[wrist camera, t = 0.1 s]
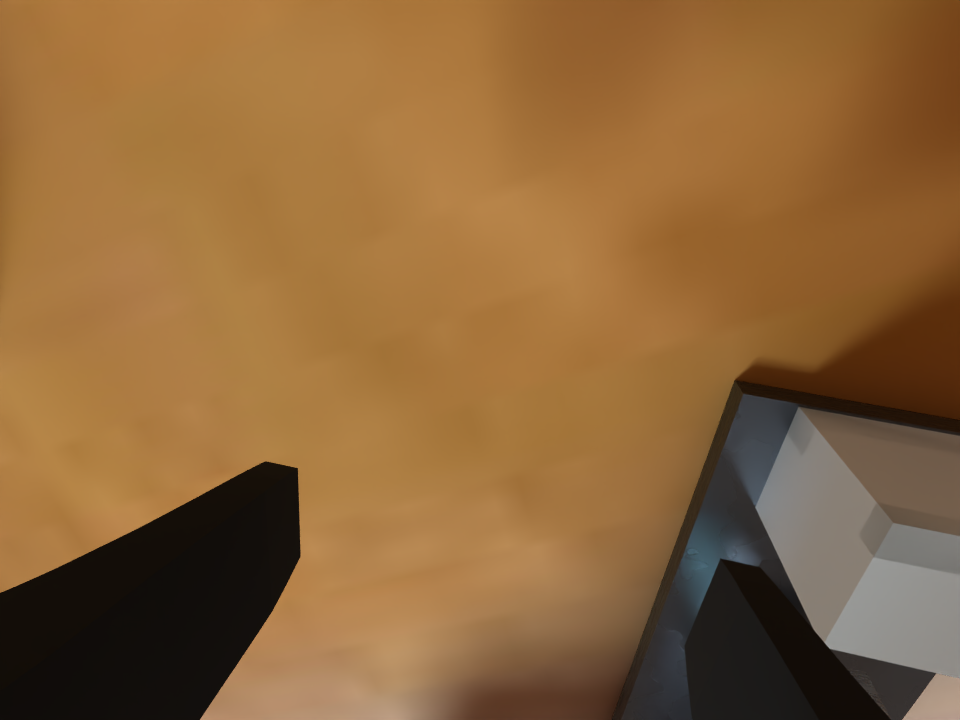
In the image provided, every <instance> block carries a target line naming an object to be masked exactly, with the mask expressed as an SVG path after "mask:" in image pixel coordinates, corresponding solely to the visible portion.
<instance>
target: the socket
mask: <svg viewBox="0 0 960 720" xmlns="http://www.w3.org/2000/svg"><path fill="white" fill-rule="evenodd" d="M755 508H756V510H757V512H758V514H759V516H760V518H761V520H762V522H763V525H764V527H765V529H766V531H767V533H768V535H769V537H770V539H771V541H772V543H773V546H774V548H775V550H776V552H777V554H778V556H779V558H780V560H781V562H782V564H783V567H784V569H785V571H786V573H787V575H788V577H789V579H790V581H791V583H792V585H793V588H794V590H795V592H796V594H797V596H798V598H799V600H800V602H801V604H802V606H803V609H804V611H805V613H806V615H807V617H808V619H809V621H810V623H811V625H812V627H813V629H814V631H815V632H816V633H817V634H818V636H819V637H820V638H821V639H822V640H823V641H824V643H825V644H826V645H827V646H828V647H829V649H833V650H837V651H842V652H846V653H850V654H855V655H859V656H864V657H868V658H872V659H877V660H881V661H885V662H890V663H894V664H899V665H903V666H907V667H912V668H916V669H920V670H925V671H929V672H933V673H938V674H942V675H947V676H951V677H955V678H960V436H957V435H952V434H946V433H941V432H935V431H930V430H924V429H919V428H913V427H908V426H902V425H897V424H891V423H886V422H880V421H875V420H869V419H864V418H858V417H853V416H847V415H841V414H836V413H830V412H825V411H819V410H814V409H808V408H803V407H798V409H797V412H796V414H795V416H794V419H793V421H792V423H791V426H790V428H789V430H788V433H787V435H786V437H785V440H784V442H783V444H782V447H781V449H780V451H779V454H778V456H777V458H776V461H775V463H774V465H773V467H772V470H771V472H770V474H769V477H768V479H767V481H766V484H765V486H764V488H763V491H762V493H761V495H760V498H759V500H758V502H757V505H756V507H755Z"/></svg>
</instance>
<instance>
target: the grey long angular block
mask: <svg viewBox="0 0 960 720" xmlns="http://www.w3.org/2000/svg"><path fill="white" fill-rule="evenodd" d="M798 407H803V408H808V409H814V410H819V411H825V412H830V413H836V414H841V415H847V416H853V417H858V418H864V419H869V420H875V421H880V422H886V423H891V424H897V425H902V426H908V427H913V428H919V429H924V430H930V431H935V432H941V433H946V434H952V435H957V436H960V420H955V419H949V418H943V417H938V416H932V415H927V414H921V413H915V412H910V411H904V410H898V409H893V408H887V407H882V406H876V405H870V404H865V403H859V402H854V401H848V400H842V399H837V398H831V397H826V396H820V395H814V394H809V393H803V392H798V391H792V390H786V389H781V388H775V387H769V386H764V385H758V384H753V383H747V382H741V381H736V380H735V381H734V384H733V387H732V389H731V392H730V395H729V398H728V401H727V403H726V406H725V409H724V412H723V414H722V417H721V420H720V423H719V425H718V428H717V431H716V434H715V436H714V439H713V442H712V445H711V447H710V450H709V453H708V456H707V458H706V461H705V464H704V467H703V469H702V472H701V475H700V478H699V481H698V483H697V486H696V489H695V492H694V494H693V497H692V500H691V503H690V505H689V508H688V511H687V514H686V516H685V519H684V522H683V525H682V527H681V530H680V533H679V536H678V538H677V541H676V544H675V547H674V549H673V552H672V555H671V558H670V561H669V563H668V566H667V569H666V572H665V574H664V577H663V580H662V583H661V585H660V588H659V591H658V594H657V596H656V599H655V602H654V605H653V607H652V610H651V613H650V616H649V618H648V621H647V624H646V627H645V630H644V632H643V635H642V638H641V641H640V643H639V646H638V649H637V652H636V654H635V657H634V660H633V663H632V665H631V668H630V671H629V674H628V676H627V679H626V682H625V685H624V687H623V690H622V693H621V696H620V698H619V701H618V704H617V707H616V710H615V712H614V715H613V718H612V720H692V715H691V707H690V698H689V689H688V680H687V669H686V658H685V647H684V646H685V643H686V641H687V638H688V636H689V633H690V631H691V629H692V626H693V624H694V621H695V619H696V616H697V614H698V612H699V609H700V607H701V604H702V602H703V599H704V597H705V594H706V592H707V590H708V587H709V585H710V582H711V580H712V577H713V575H714V573H715V570H716V568H717V565H718V563H719V560H720V558H721V559H725V560H730V561H735V562H739V563H744V564H749V565H753V566H758V567H760V568H761V569H762V570H763V571H764V572H765V573H766V574H767V575H768V576H769V578H770V579H771V580H772V581H773V582H774V583H775V584H776V586H777V587H778V588H779V589H780V590H781V591H782V593H783V594H784V595H785V596H786V597H787V599H788V600H789V601H790V602H791V603H792V605H793V606H794V607H795V608H796V609H797V610H798V612H799V613H800V614H801V615H802V616H803V618H804V619H805V620H806V621H807V622H808V624H809V625H810V626H811V627H812V625H811V623H810V621H809V619H808V617H807V615H806V613H805V611H804V609H803V606H802V604H801V602H800V600H799V598H798V596H797V594H796V592H795V590H794V588H793V585H792V583H791V581H790V579H789V577H788V575H787V573H786V571H785V569H784V567H783V564H782V562H781V560H780V558H779V556H778V554H777V552H776V550H775V548H774V546H773V543H772V541H771V539H770V537H769V535H768V533H767V531H766V529H765V527H764V525H763V522H762V520H761V518H760V516H759V514H758V512H757V510H756V508H755V507H756V505H757V502H758V500H759V498H760V495H761V493H762V491H763V488H764V486H765V484H766V481H767V479H768V477H769V474H770V472H771V470H772V467H773V465H774V463H775V461H776V458H777V456H778V454H779V451H780V449H781V447H782V444H783V442H784V440H785V437H786V435H787V433H788V430H789V428H790V426H791V423H792V421H793V419H794V416H795V414H796V412H797V409H798ZM812 628H813V627H812ZM813 630H814V629H813ZM830 650H831V651H832V652H833V653H834V654H835V656H836V657H837V658H838V659H839V660H840V662H841V663H842V664H843V665H844V666H845V667H846V668H850V669H854V670H859V671H863V672H866V673H867V675H868V677H869V679H870V681H871V683H872V684H873V686H874V688H875V690H876V692H877V694H878V696H879V697H880V699H881V701H882V703H883V705H884V707H885V709H886V710H887V712H888V714H889V716H890V718H891V720H902V719H903V718H904V716H905V715H906V714H907V712H908V711H909V710H910V708H911V707H912V706H913V704H914V703H915V701H916V700H917V699H918V697H919V696H920V695H921V693H922V692H923V691H924V689H925V688H926V686H927V685H928V684H929V682H930V681H931V680H932V678H933V677H934V676H935V674H936V673H933V672H929V671H925V670H920V669H916V668H912V667H907V666H903V665H899V664H894V663H890V662H885V661H881V660H877V659H872V658H868V657H864V656H859V655H855V654H850V653H846V652H842V651H837V650H833V649H830Z"/></svg>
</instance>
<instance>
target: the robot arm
mask: <svg viewBox="0 0 960 720" xmlns="http://www.w3.org/2000/svg"><path fill="white" fill-rule="evenodd" d="M299 558H300V525H299V493H298V468H294V467H290V466H285V465H280V464H275V463H271V462H266V461H265V462H263V463H261V464H259V465H257V466H255V467H253V468H251V469H249V470H247V471H245V472H243V473H241V474H239V475H238V476H236V477H234V478H232V479H230V480H228V481H226V482H225V483H223V484H221V485H219V486H217V487H215V488H213V489H212V490H210V491H208V492H206V493H204V494H202V495H201V496H199V497H197V498H195V499H193V500H191V501H189V502H187V503H186V504H184V505H182V506H180V507H178V508H176V509H174V510H172V511H170V512H169V513H167V514H165V515H163V516H161V517H159V518H157V519H155V520H153V521H152V522H150V523H148V524H146V525H144V526H142V527H140V528H138V529H136V530H134V531H132V532H130V533H128V534H126V535H124V536H122V537H120V538H118V539H116V540H114V541H112V542H110V543H108V544H105V545H103V546H101V547H99V548H97V549H95V550H93V551H91V552H89V553H87V554H85V555H83V556H81V557H79V558H77V559H75V560H73V561H71V562H68V563H66V564H64V565H62V566H60V567H58V568H56V569H54V570H52V571H49V572H47V573H45V574H43V575H41V576H38V577H36V578H34V579H32V580H29V581H27V582H25V583H23V584H20V585H18V586H16V587H13V588H11V589H9V590H6V591H4V592H2V593H0V720H200V718H201V717H202V716H203V714H204V713H205V711H206V710H207V708H208V707H209V705H210V704H211V702H212V701H213V699H214V698H215V696H216V695H217V693H218V692H219V690H220V689H221V687H222V686H223V684H224V683H225V681H226V680H227V678H228V677H229V675H230V674H231V673H232V671H233V670H234V668H235V667H236V665H237V664H238V662H239V661H240V659H241V658H242V656H243V655H244V653H245V652H246V650H247V649H248V647H249V646H250V644H251V643H252V641H253V640H254V638H255V637H256V635H257V634H258V632H259V631H260V629H261V628H262V626H263V625H264V623H265V622H266V620H267V618H268V617H269V615H270V614H271V612H272V611H273V609H274V607H275V605H276V603H277V601H278V599H279V598H280V596H281V594H282V592H283V590H284V588H285V586H286V584H287V582H288V580H289V578H290V576H291V574H292V572H293V570H294V568H295V566H296V564H297V562H298V560H299ZM684 647H685V658H686V669H687V680H688V689H689V698H690V707H691V715H692V720H891V719H890V718H889V717H888V716H887V714H886V713H885V712H884V711H883V710H882V709H881V708H880V707H879V705H878V704H877V703H876V702H875V701H874V700H873V699H872V697H871V696H870V695H869V694H868V693H867V692H866V691H865V689H864V688H863V687H862V686H861V685H860V684H859V682H858V681H857V680H856V679H855V678H854V677H853V676H852V674H851V673H850V672H849V671H848V670H847V669H846V667H845V666H844V665H843V664H842V663H841V662H840V660H839V659H838V658H837V657H836V656H835V654H834V653H833V652H832V651H831V650H830V649H829V647H828V646H827V645H826V644H825V643H824V641H823V640H822V639H821V638H820V637H819V636H818V634H817V633H816V632H815V631H814V630H813V628H812V627H811V626H810V625H809V624H808V622H807V621H806V620H805V619H804V618H803V616H802V615H801V614H800V613H799V612H798V610H797V609H796V608H795V607H794V606H793V605H792V603H791V602H790V601H789V600H788V599H787V597H786V596H785V595H784V594H783V593H782V591H781V590H780V589H779V588H778V587H777V586H776V584H775V583H774V582H773V581H772V580H771V579H770V578H769V576H768V575H767V574H766V573H765V572H764V571H763V570H762V569H761V568H760V567H758V566H753V565H749V564H744V563H739V562H735V561H730V560H725V559H721V558H720V560H719V563H718V565H717V568H716V570H715V573H714V575H713V577H712V580H711V582H710V585H709V587H708V590H707V592H706V594H705V597H704V599H703V602H702V604H701V607H700V609H699V612H698V614H697V616H696V619H695V621H694V624H693V626H692V629H691V631H690V633H689V636H688V638H687V641H686V643H685V646H684Z"/></svg>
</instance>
